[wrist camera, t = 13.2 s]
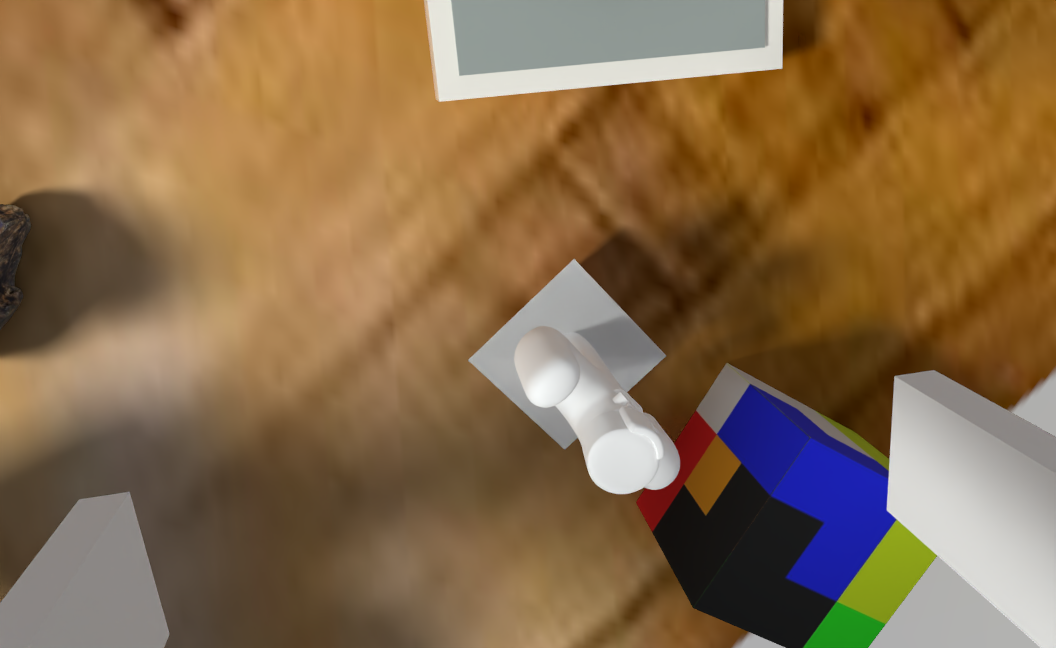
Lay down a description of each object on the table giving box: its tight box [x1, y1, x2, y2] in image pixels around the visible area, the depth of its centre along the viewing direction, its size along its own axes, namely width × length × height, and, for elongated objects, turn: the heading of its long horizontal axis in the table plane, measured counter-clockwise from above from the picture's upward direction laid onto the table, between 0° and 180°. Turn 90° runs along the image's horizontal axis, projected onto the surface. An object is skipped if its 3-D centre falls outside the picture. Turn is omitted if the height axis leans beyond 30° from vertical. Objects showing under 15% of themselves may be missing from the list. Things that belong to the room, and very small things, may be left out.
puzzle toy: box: [636, 363, 937, 648], centre depth 43 cm, size 10×10×10 cm
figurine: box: [468, 259, 680, 494], centre depth 36 cm, size 7×9×15 cm
